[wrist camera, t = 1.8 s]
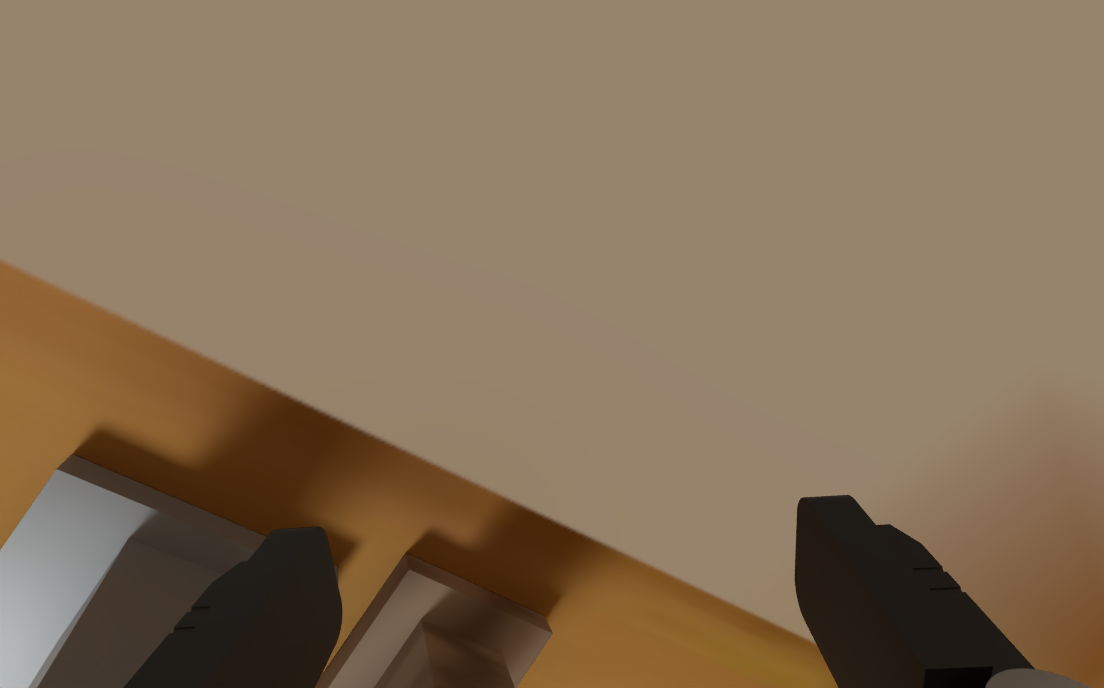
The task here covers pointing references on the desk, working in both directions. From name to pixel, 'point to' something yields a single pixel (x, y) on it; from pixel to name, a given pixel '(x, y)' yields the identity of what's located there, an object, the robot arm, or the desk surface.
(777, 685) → the desk surface
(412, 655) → the walnut stand
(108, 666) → the frame
